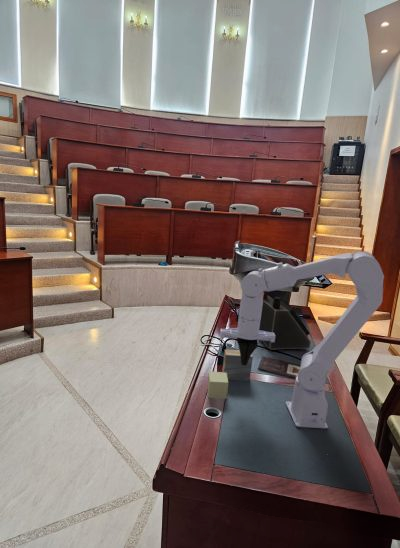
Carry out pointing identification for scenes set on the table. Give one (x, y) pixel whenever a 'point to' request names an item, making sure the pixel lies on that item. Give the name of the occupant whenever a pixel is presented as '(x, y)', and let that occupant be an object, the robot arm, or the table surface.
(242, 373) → the beech slab
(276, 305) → the voltmeter
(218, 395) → the olive cube
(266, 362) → the chocolate bar
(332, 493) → the table surface
